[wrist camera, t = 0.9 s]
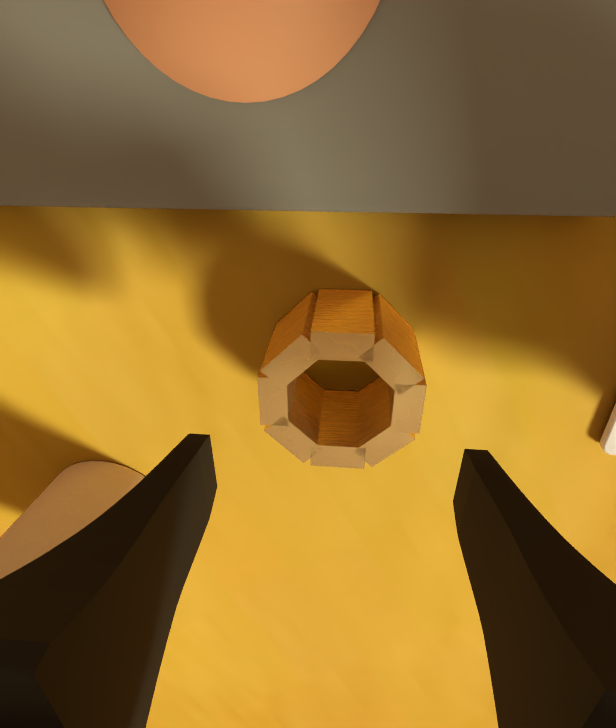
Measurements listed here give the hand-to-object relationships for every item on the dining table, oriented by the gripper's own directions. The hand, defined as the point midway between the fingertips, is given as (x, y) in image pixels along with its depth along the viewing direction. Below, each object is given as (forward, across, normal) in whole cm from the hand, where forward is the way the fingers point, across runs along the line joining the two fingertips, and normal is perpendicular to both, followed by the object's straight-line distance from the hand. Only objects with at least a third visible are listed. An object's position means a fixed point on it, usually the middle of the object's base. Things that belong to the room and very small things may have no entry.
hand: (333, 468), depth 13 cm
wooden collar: (+7, 0, 0) cm, 7 cm away
